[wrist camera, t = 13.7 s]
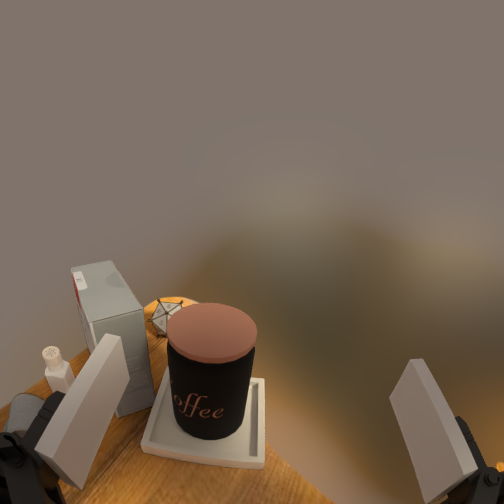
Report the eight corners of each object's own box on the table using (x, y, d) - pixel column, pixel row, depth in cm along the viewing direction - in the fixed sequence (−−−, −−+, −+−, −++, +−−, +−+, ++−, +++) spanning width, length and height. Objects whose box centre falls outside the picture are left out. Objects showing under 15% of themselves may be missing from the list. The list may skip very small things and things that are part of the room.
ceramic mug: (58, 416, 33) (41, 385, 31) (63, 457, 27) (42, 430, 24) (6, 419, 28) (-14, 389, 25) (7, 459, 22) (-19, 431, 19)
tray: (262, 387, 48) (264, 378, 48) (262, 469, 33) (264, 462, 32) (167, 375, 48) (166, 366, 47) (143, 452, 32) (140, 444, 31)
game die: (162, 346, 61) (139, 306, 60) (194, 327, 64) (172, 288, 63) (166, 354, 52) (140, 309, 52) (203, 332, 56) (178, 288, 55)
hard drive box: (90, 360, 47) (69, 266, 40) (125, 350, 52) (113, 258, 45) (117, 420, 37) (87, 320, 29) (159, 405, 41) (146, 305, 34)
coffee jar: (160, 413, 39) (147, 323, 32) (207, 382, 47) (211, 293, 40) (210, 456, 33) (213, 373, 26) (257, 415, 41) (275, 328, 34)
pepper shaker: (79, 385, 41) (64, 345, 37) (74, 402, 37) (57, 362, 34) (60, 382, 40) (44, 342, 36) (54, 398, 36) (36, 359, 33)
